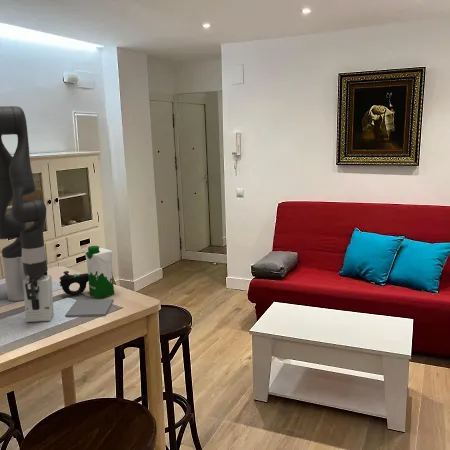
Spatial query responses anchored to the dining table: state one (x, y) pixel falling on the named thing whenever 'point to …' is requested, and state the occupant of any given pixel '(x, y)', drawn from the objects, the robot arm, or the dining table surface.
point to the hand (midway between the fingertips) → (39, 305)
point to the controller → (69, 279)
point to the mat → (90, 308)
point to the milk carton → (99, 272)
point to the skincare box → (40, 301)
